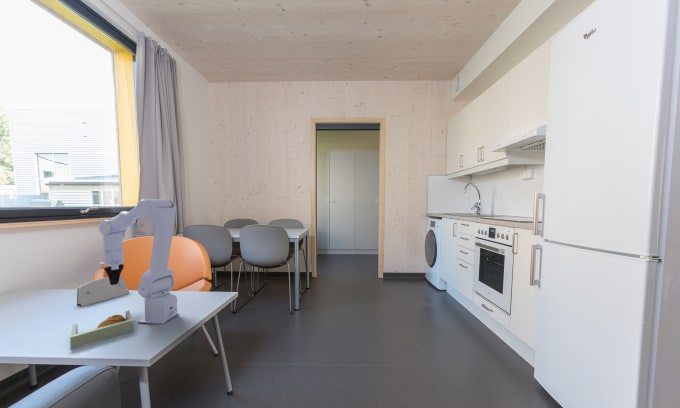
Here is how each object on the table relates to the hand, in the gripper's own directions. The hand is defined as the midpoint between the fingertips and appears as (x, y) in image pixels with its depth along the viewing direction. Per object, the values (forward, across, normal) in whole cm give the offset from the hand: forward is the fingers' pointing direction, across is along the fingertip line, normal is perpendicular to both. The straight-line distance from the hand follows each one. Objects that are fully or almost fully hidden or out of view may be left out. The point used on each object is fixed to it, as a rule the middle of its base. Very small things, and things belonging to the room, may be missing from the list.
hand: (114, 284), depth 96 cm
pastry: (+11, +19, -2) cm, 22 cm away
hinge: (+11, -20, -3) cm, 23 cm away
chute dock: (+10, +19, -4) cm, 22 cm away
